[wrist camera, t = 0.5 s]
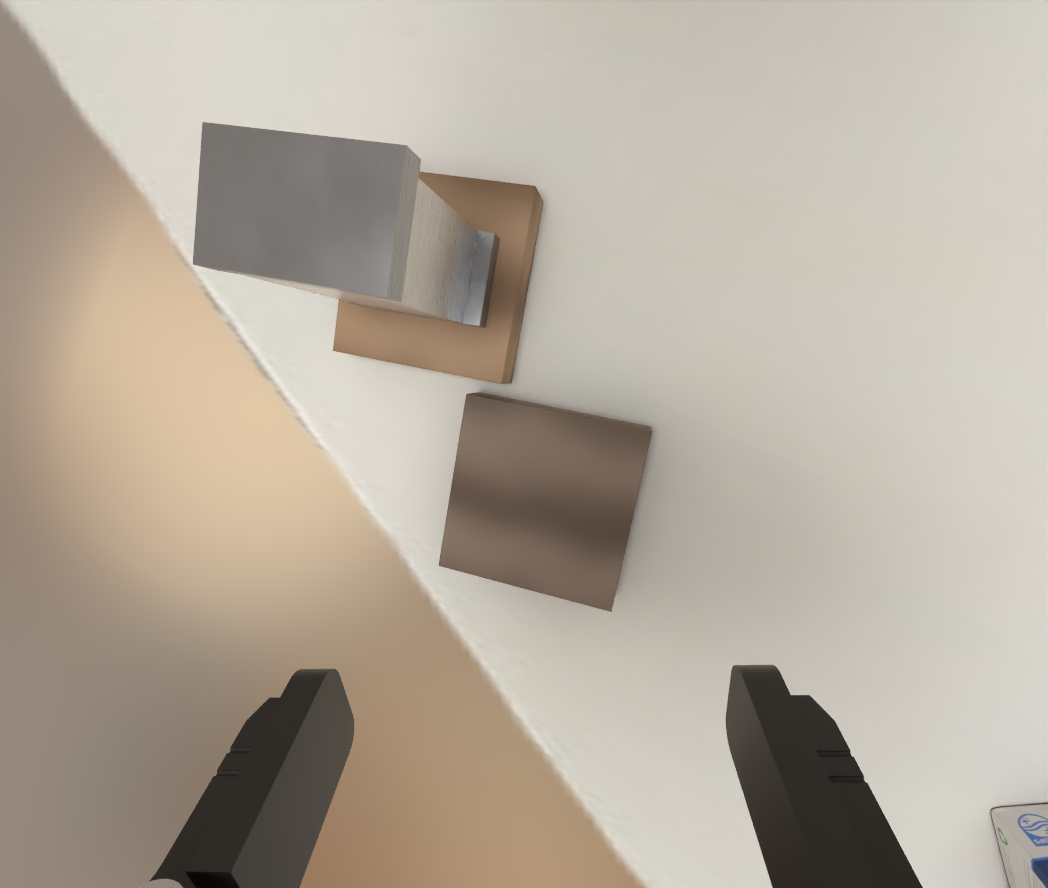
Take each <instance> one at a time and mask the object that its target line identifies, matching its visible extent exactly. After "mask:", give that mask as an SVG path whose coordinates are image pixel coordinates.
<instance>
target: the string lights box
mask: <svg viewBox="0 0 1048 888" xmlns="http://www.w3.org/2000/svg"><path fill="white" fill-rule="evenodd" d="M991 816H992V820H993V823H994V827H995V831H996V835H997V839H998V843H999V847H1000V851H1001V855H1002V859H1003V862H1004V866H1005V870H1006V874H1007V878H1008V881H1009V885H1010V888H1048V804H1039V805H1026V806H1013V807H1001V808H995V809H993V810H992V811H991Z"/></svg>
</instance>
